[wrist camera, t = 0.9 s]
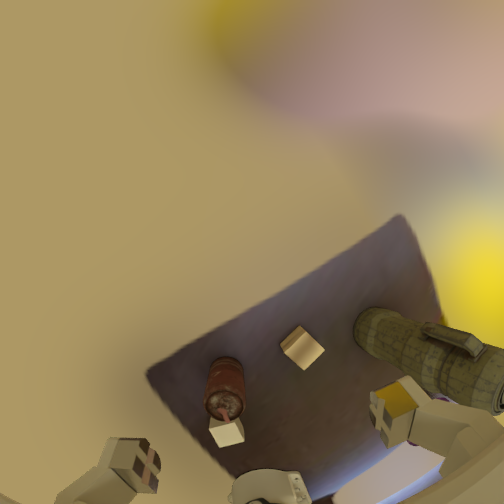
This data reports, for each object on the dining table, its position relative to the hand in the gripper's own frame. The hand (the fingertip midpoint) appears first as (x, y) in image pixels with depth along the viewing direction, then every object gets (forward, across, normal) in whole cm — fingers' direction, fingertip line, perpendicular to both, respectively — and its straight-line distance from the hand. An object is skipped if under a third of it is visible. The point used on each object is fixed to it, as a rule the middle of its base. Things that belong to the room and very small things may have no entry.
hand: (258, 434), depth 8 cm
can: (+36, -7, -23) cm, 44 cm away
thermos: (+37, +22, -24) cm, 49 cm away
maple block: (+37, +7, -22) cm, 43 cm away
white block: (+33, -10, -34) cm, 49 cm away
